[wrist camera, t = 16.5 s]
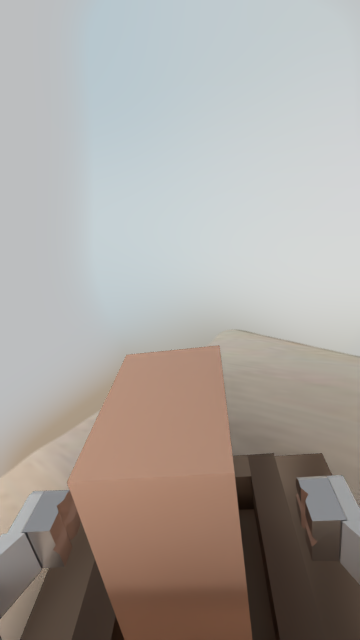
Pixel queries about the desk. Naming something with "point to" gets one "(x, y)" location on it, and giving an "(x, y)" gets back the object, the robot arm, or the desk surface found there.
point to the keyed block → (166, 500)
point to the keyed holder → (259, 559)
